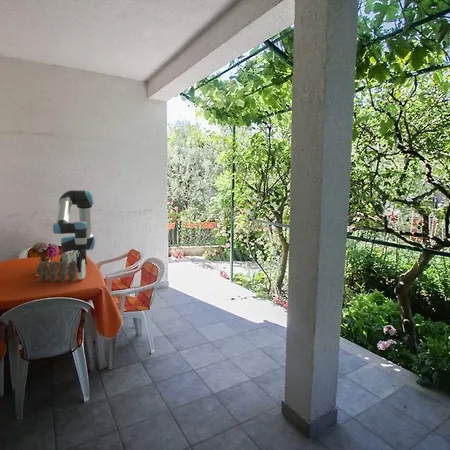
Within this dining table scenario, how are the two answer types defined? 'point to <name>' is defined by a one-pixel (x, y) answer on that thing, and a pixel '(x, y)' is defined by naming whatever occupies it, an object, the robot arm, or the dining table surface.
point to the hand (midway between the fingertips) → (82, 275)
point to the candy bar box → (69, 258)
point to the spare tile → (83, 269)
